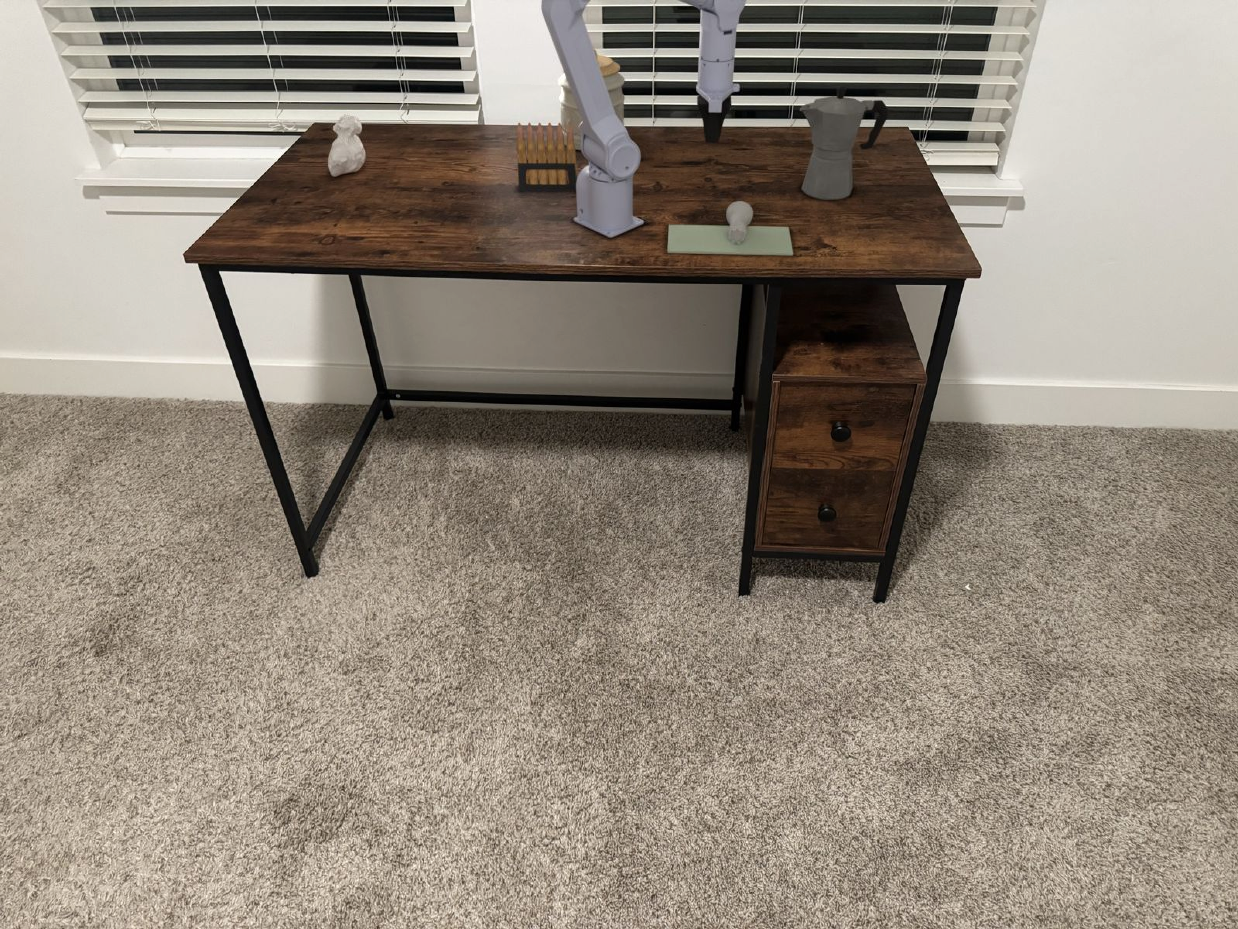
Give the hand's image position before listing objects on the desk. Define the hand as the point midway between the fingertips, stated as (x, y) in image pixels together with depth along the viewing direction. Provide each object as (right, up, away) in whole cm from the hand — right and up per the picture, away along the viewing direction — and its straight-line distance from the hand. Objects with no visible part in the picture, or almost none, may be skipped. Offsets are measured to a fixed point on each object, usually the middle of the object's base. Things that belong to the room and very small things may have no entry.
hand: (711, 141), depth 151 cm
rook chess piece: (+4, -13, -3) cm, 14 cm away
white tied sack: (-67, +1, +19) cm, 70 cm away
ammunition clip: (-29, -5, +11) cm, 31 cm away
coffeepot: (+23, -5, +9) cm, 25 cm away
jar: (-21, +11, +30) cm, 38 cm away
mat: (+2, -18, -6) cm, 19 cm away
